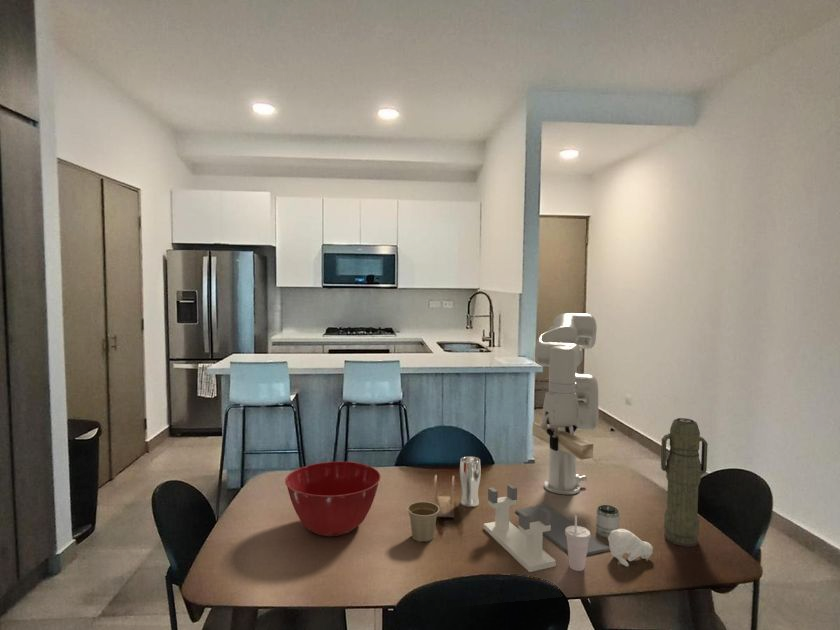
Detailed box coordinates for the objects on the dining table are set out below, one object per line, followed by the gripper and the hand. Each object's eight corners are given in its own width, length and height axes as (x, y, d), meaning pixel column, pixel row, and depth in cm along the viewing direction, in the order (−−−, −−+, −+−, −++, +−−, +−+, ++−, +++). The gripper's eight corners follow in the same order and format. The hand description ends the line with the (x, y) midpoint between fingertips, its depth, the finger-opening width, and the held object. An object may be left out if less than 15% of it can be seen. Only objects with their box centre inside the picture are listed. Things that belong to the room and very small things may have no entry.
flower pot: (443, 532, 152) (443, 504, 152) (433, 547, 143) (433, 517, 143) (413, 527, 155) (413, 499, 155) (402, 542, 146) (402, 512, 146)
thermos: (709, 547, 144) (714, 424, 142) (666, 545, 145) (670, 424, 143) (695, 532, 153) (699, 416, 151) (654, 530, 154) (658, 415, 151)
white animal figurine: (606, 524, 139) (646, 525, 141) (603, 555, 139) (643, 555, 141) (619, 535, 133) (661, 536, 135) (616, 567, 133) (657, 567, 135)
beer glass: (480, 499, 175) (480, 456, 175) (480, 508, 169) (481, 463, 168) (459, 498, 176) (460, 455, 175) (459, 507, 169) (459, 462, 168)
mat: (546, 506, 170) (546, 503, 170) (609, 550, 142) (610, 547, 142) (515, 511, 166) (515, 509, 166) (574, 558, 138) (574, 555, 138)
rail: (543, 433, 164) (543, 421, 164) (593, 457, 142) (593, 443, 142) (532, 435, 163) (532, 422, 163) (581, 459, 141) (581, 445, 140)
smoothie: (560, 560, 137) (561, 509, 136) (583, 559, 137) (585, 509, 136) (569, 574, 130) (570, 521, 129) (593, 573, 131) (595, 520, 130)
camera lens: (595, 536, 150) (596, 510, 150) (596, 527, 156) (597, 501, 155) (618, 540, 148) (619, 514, 147) (618, 530, 154) (619, 505, 153)
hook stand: (506, 524, 157) (507, 481, 157) (555, 566, 134) (556, 516, 133) (483, 528, 155) (484, 484, 154) (529, 572, 131) (530, 521, 130)
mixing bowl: (333, 498, 176) (333, 454, 175) (399, 521, 159) (399, 472, 158) (266, 530, 153) (265, 480, 152) (334, 560, 136) (334, 504, 135)
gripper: (577, 383, 158) (575, 442, 159) (530, 387, 152) (529, 448, 153) (593, 388, 151) (591, 449, 152) (545, 392, 145) (543, 456, 146)
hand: (560, 448), depth 153 cm, fingers closed on rail, 4 cm apart
